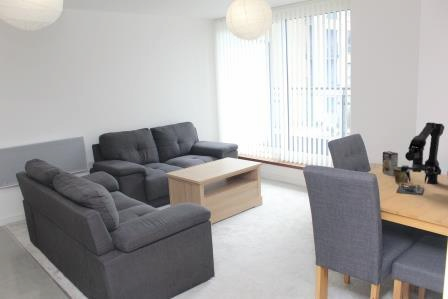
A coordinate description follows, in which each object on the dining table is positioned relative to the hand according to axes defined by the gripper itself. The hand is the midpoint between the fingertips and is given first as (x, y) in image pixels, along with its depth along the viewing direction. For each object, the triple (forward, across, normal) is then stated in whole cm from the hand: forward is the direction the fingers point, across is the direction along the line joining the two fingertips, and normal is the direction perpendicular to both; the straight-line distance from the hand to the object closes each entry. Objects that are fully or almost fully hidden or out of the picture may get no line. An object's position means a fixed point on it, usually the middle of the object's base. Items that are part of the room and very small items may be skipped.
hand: (417, 182), depth 245 cm
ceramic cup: (+5, -12, +15) cm, 20 cm away
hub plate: (+5, -4, -4) cm, 7 cm away
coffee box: (+5, -21, +37) cm, 43 cm away
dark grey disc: (+2, -4, -3) cm, 6 cm away
